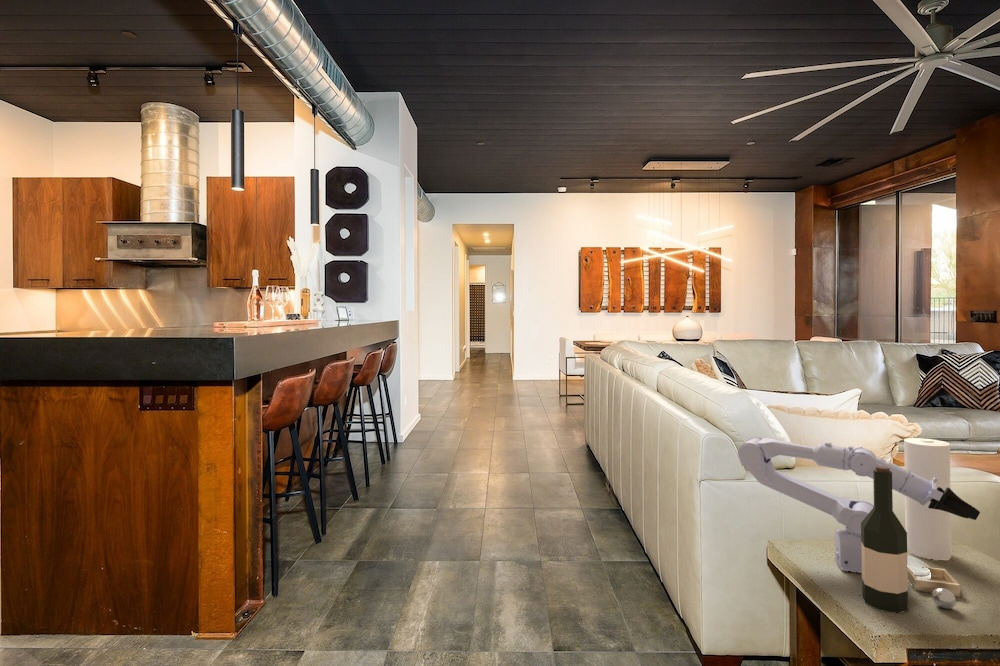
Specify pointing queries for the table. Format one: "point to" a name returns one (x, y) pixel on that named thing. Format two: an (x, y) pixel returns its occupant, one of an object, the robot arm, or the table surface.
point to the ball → (943, 598)
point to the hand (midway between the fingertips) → (973, 515)
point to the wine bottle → (884, 550)
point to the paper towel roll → (923, 523)
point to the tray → (935, 581)
